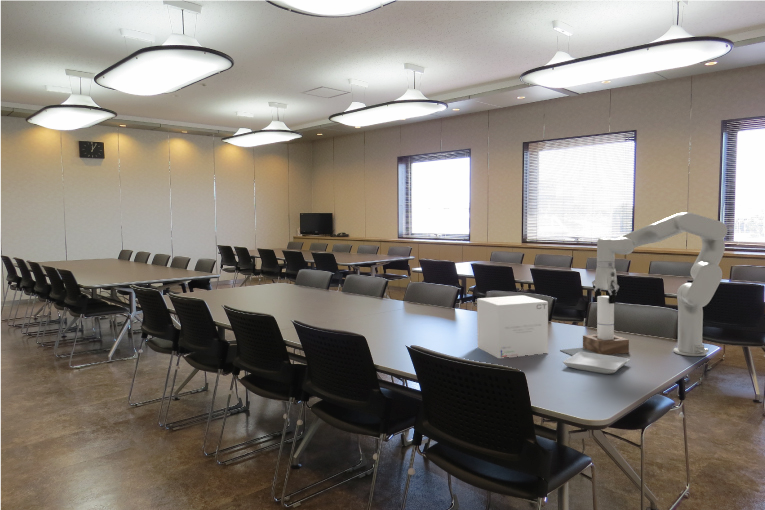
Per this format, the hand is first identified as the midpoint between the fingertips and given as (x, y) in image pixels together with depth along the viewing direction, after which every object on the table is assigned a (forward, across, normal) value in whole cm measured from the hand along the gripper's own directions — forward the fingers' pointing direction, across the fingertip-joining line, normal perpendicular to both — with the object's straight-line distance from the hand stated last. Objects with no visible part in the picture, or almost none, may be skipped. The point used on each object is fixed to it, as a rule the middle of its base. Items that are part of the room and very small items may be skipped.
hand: (604, 301), depth 241 cm
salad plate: (+24, -21, +20) cm, 38 cm away
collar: (+23, 0, -1) cm, 23 cm away
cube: (+24, +15, +39) cm, 48 cm away
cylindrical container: (+23, 0, -1) cm, 23 cm away
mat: (+23, 0, +13) cm, 27 cm away
